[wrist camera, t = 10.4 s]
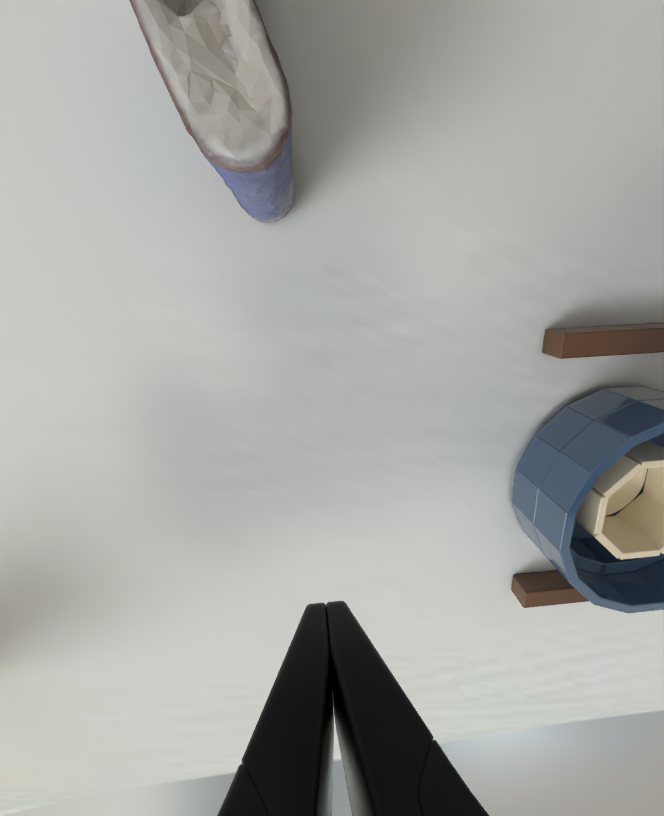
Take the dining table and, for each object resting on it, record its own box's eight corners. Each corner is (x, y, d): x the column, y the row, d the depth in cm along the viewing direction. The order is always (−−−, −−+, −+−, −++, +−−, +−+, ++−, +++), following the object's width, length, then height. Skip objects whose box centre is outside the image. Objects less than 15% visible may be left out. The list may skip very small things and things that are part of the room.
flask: (302, 216, 17) (305, 123, 7) (236, 232, 17) (142, 162, 7) (238, -61, 14) (74, -959, 4) (158, -42, 14) (-215, -888, 4)
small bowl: (656, 428, 21) (720, 455, 18) (636, 514, 23) (691, 552, 20) (560, 436, 21) (608, 465, 18) (547, 523, 23) (588, 563, 20)
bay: (766, 316, 20) (801, 319, 19) (687, 572, 26) (710, 589, 24) (544, 329, 19) (563, 333, 18) (510, 589, 25) (523, 608, 23)
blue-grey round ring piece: (707, 378, 21) (819, 405, 17) (662, 541, 25) (745, 601, 20) (519, 390, 20) (582, 423, 16) (499, 556, 24) (547, 622, 19)
